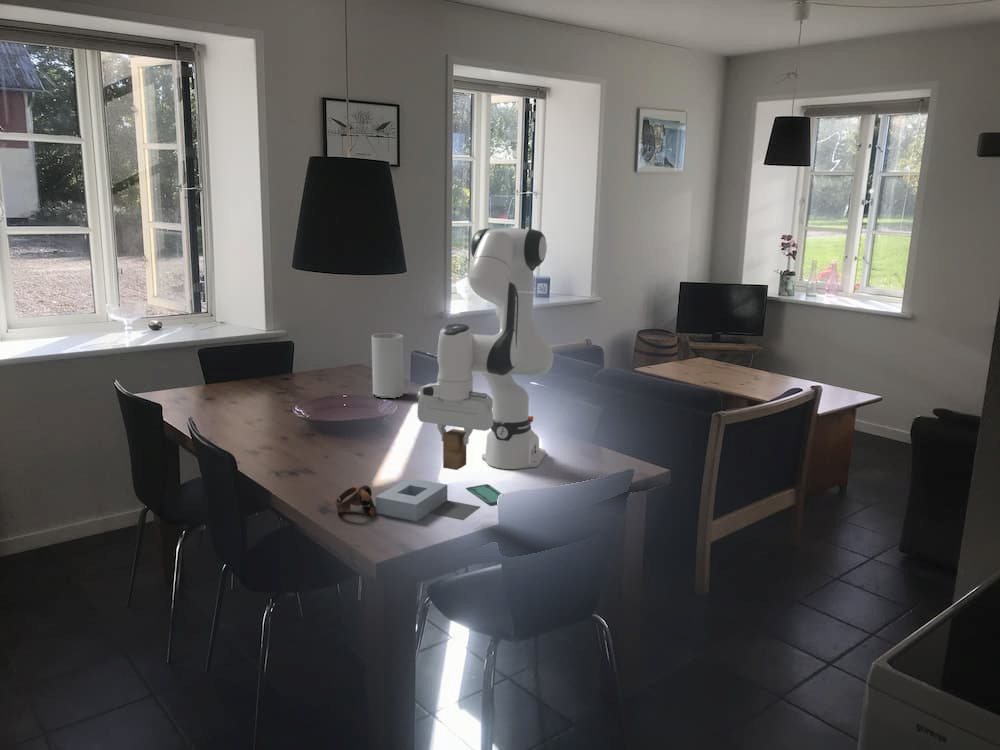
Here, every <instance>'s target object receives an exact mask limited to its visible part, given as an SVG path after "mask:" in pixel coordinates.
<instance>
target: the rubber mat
mask: <svg viewBox="0 0 1000 750" xmlns="http://www.w3.org/2000/svg"><path fill="white" fill-rule="evenodd" d="M480 508H481V506H479V505H474V504H469V503H463V502H459V501H454V500H453V501H452V500H448V499H447V501H446V502H444V503H443V504H441V505H440V506H438V507H437V508H435V509H434V510H432V511H431V512H429V513H428V514H431V515H435V516H441V517H446V518H451V519H456V520H461V521H464V520H465V519H466V518H468V517H469V516H470V515H472V514H473V513H475V512H476V511H478V510H479V509H480Z"/></svg>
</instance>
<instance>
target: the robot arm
mask: <svg viewBox="0 0 1000 750" xmlns="http://www.w3.org/2000/svg"><path fill="white" fill-rule="evenodd" d="M546 240H547V239H546V236H545V235H544V233H543V232H542V231H541V230H537V229H533V228H530V229H526V228H520V227H519V228H517V227H506V228H505V227H503V228H491V229H490V228H482V229H479V230H477V231H476V233H474V234H473V235H472V239H471V245H470V251H471V256H472V259H471V260H472V261H471V264H470V267H469V271H468V272H469V273H468V283H469V285H470V287H471V289H472V291H473V292H474V293H475V294H476V295H477V296H479V297H480V298H481V299H483V300H485V301H487V302H488V303H489V302H490V303H491V304H494V305H495V316H496V318H497V320H498V321H499V331H498V333H496V334H494V335H493V334H492V335H490V334H489V335H488V334H476V333H472V332H471V331H472V330H471V327H470V326H469V325H467V324H464V323H452V324H447V325H445V326H443V327H442V328H441V329H440V330H439V335H438V341H437V342H438V343H437V355H436V356H437V357H436V358H437V359H436V361H437V364H438V373H437V380H436V381H434V382H431V383H428V384H425V385H423V386H420V388H419V394H420V395H421V396H420V397H419V398H418V401H417V419H418V421H419V422H421V423H429V424H433V425H434V424H435V425H436V426H437V430H438V432H439V433H440V435H441V442H443V434H444V433H446V432H447V430H446V427H447V426H448V427H456V428H463V431H464V432H466V434H465V436H463V437H461V438H460V441H461V442H460V443H461V444H464V445H466V446H467V445H469V440H470V436H471V434H472V432H473V431H474V430H475V431H476V430H477V431H483V432H484V431H485V432H487V431H488V430H490V431H489V432H488V433H487V434H486V445H485V453H483V454H482V455H481V459H482V460H484V461H485V462H486V464H487V465H489V466H491V467H493V468H497V469H503V470H520V469H524V468H538V467H539V466H540V464H541V462H542V461H543V459H544V457H545V456H546V455H547V450H546V449H544V448H541V447H540V437H539V436H538V434H537V433H535V432H534V431H533V430H532V426H531V425H532V423H533V421H534V416H533V415H529V409H530V408H529V406H530V403H529V401H530V396H529V394H528V392H527V390H526V389H525V388H524V387H523V386H521V385H519V384H518V383H517V382H516V381H515V380H514V378H513V375H516V376H517V375H518V376H525V377H527V376H528V377H533V376H542V375H546V374H547V373H548V372H549V371H550V370H551V368H552V367H553V364H554V363H553V362H554V353H553V352H554V351H553V349H552V347H551V345H550V344H549V343H547V341H546V340H545V339H544V338H543V337H542V336H541V334H540V333H539V331H538V330H537V327H536V324H535V319H534V291H535V279H534V277H535V276H534V271H535V270H536V268H537V267H539V266H540V265H541V264H542V263H543V262H544V260H545V258H546V254H547V247H548V245H547V241H546ZM472 372H476V373H477V372H478V373H480V374H481V375H482V376H483V377H484V378H485V380H486V382H487V384H488V388H489V390H490V394H491V396H490V395H488V393H485V392H477V391H473V390H474V388H473V385H474V383H473V382H474V380H473V379H474V377H473V373H472Z"/></svg>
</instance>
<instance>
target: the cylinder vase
mask: <svg viewBox="0 0 1000 750" xmlns="http://www.w3.org/2000/svg"><path fill="white" fill-rule="evenodd" d="M403 339H404V335H403V334H400V333H391V332H389V333H388V332H387V333H385V332H384V333H375V334H372V335H371V364H372V365H371V368H372V369H371V370H372V371H371V373H372V395H373V394H375V395H377V396H389V397H395V396H400V395H403V396H404V394H403V393H404V391H405V390H404V340H403Z"/></svg>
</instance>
